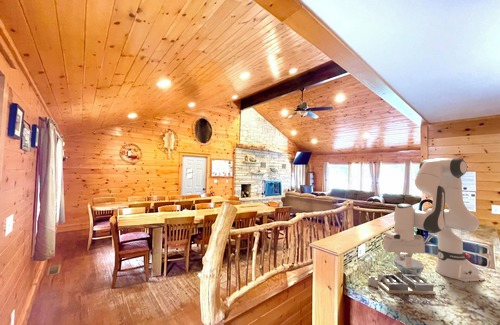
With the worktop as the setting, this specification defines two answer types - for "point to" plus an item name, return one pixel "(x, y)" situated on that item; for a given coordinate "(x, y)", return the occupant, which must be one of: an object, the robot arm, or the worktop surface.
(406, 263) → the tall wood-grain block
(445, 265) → the robot arm
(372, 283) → the lighter
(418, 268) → the chinaware
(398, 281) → the metal roller rack
